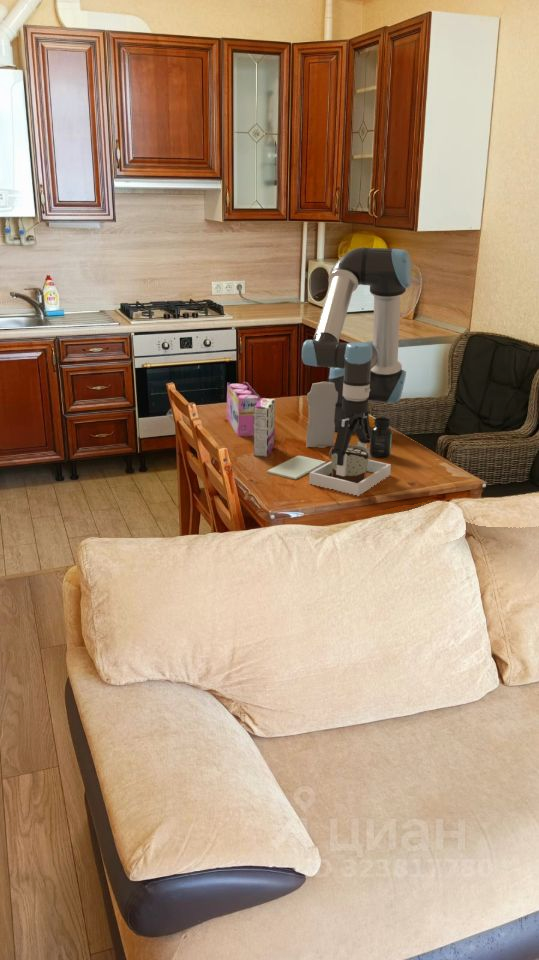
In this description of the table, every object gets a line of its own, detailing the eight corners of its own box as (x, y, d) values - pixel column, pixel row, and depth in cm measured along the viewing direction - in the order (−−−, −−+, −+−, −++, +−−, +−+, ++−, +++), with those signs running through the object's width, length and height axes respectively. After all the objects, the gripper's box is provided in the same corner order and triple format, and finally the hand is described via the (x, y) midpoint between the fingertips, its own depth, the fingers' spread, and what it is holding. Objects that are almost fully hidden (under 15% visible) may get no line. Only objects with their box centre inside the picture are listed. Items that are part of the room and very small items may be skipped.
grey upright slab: (332, 443, 263) (336, 379, 255) (337, 446, 259) (341, 382, 251) (303, 445, 260) (305, 380, 252) (307, 449, 256) (310, 383, 248)
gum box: (225, 417, 289) (225, 381, 284) (246, 416, 291) (246, 380, 286) (238, 436, 267) (238, 398, 262) (260, 435, 269) (261, 397, 264)
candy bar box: (259, 445, 258) (260, 397, 253) (274, 446, 258) (275, 398, 252) (252, 456, 248) (253, 406, 242) (267, 457, 247) (269, 407, 242)
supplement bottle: (394, 456, 252) (397, 420, 248) (379, 459, 248) (382, 423, 244) (379, 450, 257) (382, 415, 253) (364, 454, 253) (367, 418, 249)
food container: (372, 479, 231) (375, 447, 228) (368, 486, 226) (370, 453, 222) (332, 473, 235) (334, 442, 231) (327, 480, 230) (329, 448, 226)
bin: (343, 464, 243) (344, 453, 241) (390, 475, 235) (390, 464, 233) (309, 483, 226) (309, 472, 225) (357, 496, 218) (358, 484, 217)
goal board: (298, 457, 248) (298, 455, 248) (325, 463, 243) (325, 461, 243) (267, 472, 234) (267, 470, 234) (295, 479, 229) (295, 477, 229)
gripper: (347, 409, 210) (342, 483, 218) (385, 391, 229) (380, 461, 237) (323, 404, 214) (319, 477, 222) (363, 387, 233) (358, 456, 241)
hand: (350, 469), depth 229 cm, fingers open, 12 cm apart
